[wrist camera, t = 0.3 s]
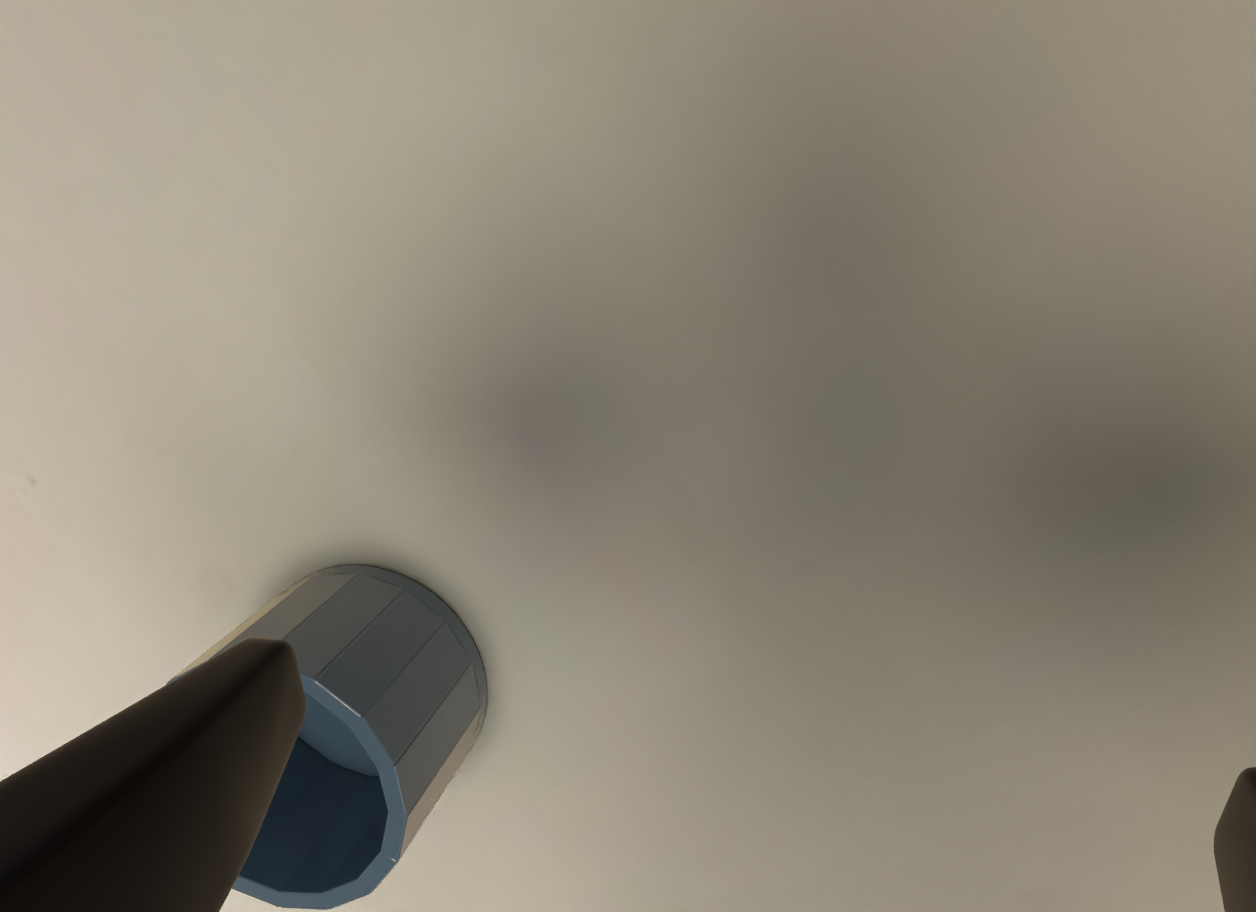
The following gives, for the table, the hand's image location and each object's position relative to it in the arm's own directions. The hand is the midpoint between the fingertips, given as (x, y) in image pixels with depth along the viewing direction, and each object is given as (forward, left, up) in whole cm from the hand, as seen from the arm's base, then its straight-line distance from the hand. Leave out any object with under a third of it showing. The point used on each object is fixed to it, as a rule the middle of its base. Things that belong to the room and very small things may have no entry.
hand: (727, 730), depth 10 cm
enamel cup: (-13, +4, -13) cm, 19 cm away
